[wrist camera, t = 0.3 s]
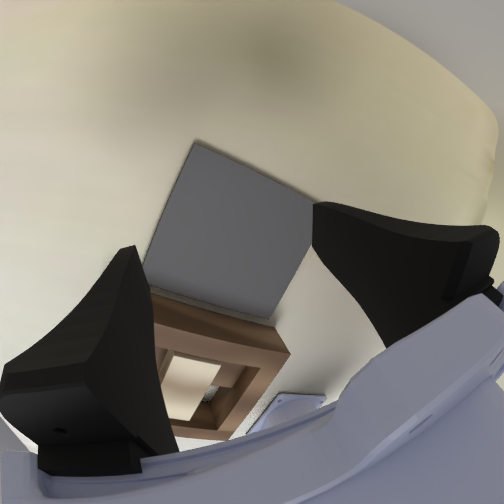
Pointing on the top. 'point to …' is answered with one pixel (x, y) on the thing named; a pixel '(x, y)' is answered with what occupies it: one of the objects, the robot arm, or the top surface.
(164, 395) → the birch tile
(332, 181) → the top surface
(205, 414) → the walnut frame
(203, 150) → the charcoal mat
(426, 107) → the top surface
